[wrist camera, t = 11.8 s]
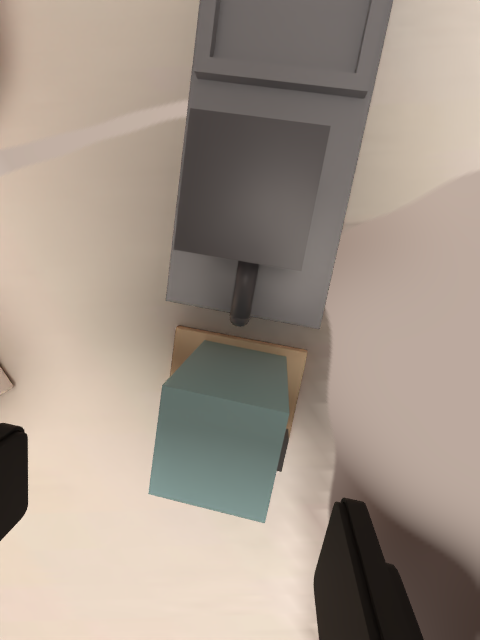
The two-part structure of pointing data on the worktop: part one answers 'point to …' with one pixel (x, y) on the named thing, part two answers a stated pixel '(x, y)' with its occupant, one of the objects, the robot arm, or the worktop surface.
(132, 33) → the worktop surface
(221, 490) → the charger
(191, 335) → the cork pad
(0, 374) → the milk carton
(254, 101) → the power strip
